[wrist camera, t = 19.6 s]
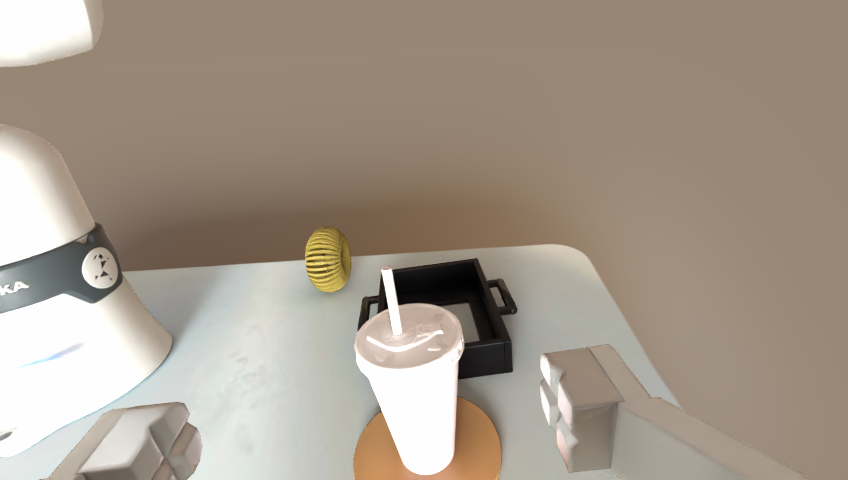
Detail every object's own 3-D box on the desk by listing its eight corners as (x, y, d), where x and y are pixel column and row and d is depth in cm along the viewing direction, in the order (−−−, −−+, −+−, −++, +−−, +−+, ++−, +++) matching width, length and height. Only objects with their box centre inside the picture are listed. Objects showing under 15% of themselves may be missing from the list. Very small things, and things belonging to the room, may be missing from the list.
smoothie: (383, 416, 30) (346, 249, 24) (468, 406, 30) (450, 235, 24) (377, 502, 24) (326, 307, 18) (482, 489, 24) (464, 290, 18)
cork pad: (345, 543, 22) (344, 537, 22) (361, 405, 32) (360, 401, 31) (520, 519, 22) (519, 513, 22) (485, 388, 32) (484, 384, 31)
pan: (357, 393, 33) (349, 363, 32) (370, 296, 47) (365, 273, 46) (534, 369, 33) (534, 338, 32) (494, 279, 47) (493, 255, 46)
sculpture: (343, 304, 46) (328, 241, 43) (310, 306, 47) (293, 244, 43) (358, 270, 53) (346, 215, 50) (330, 273, 54) (316, 218, 51)
